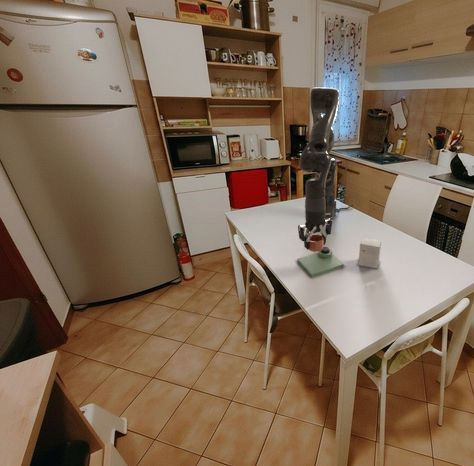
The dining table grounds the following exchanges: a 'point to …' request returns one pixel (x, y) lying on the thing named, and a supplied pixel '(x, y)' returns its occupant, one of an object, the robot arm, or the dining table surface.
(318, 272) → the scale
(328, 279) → the dining table surface
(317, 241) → the bowl
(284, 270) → the dining table surface
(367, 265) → the small box
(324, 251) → the tare button
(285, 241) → the dining table surface
